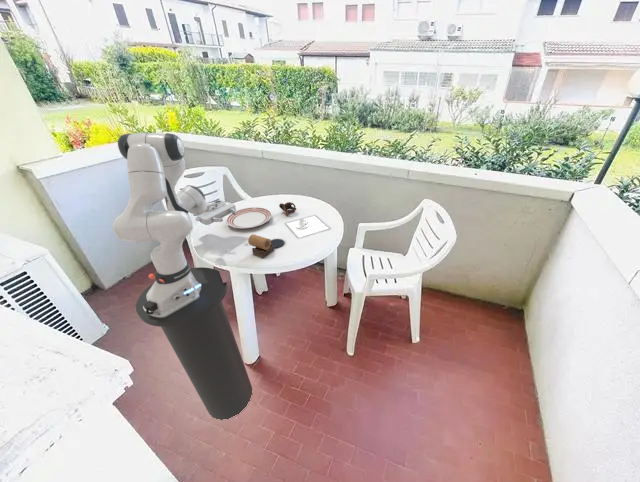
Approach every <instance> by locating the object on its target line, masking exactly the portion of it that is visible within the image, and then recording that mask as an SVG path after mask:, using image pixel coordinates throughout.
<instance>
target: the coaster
mask: <svg viewBox="0 0 640 482" xmlns="http://www.w3.org/2000/svg"><path fill="white" fill-rule="evenodd" d="M270 241H271V244H273V247H274V249H280V248H281V247H283V246H284V245H285V241H284V240H283V239H282V238H281V239H280V238H274V239H270Z"/></svg>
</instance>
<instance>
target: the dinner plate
mask: <svg viewBox="0 0 640 482" xmlns="http://www.w3.org/2000/svg"><path fill="white" fill-rule="evenodd" d="M236 212H237V214H235V215H233V214H232V213H231V214H229V215H227V216H226V217H227V218H226V219H225V222H226V224H227V225H228V226H229V227H231V228H233V229H243V230H244V229H252V228H256V227H259V226H262V225H264V224H266V223H268V221H270V220H271V218H272V215H273V213H272V211H271V210H270V209H268V208H265V207H261V206H253V207H250V206H249V207H245V208H241V209H238V210H236Z"/></svg>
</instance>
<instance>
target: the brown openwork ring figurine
mask: <svg viewBox="0 0 640 482" xmlns="http://www.w3.org/2000/svg"><path fill="white" fill-rule="evenodd" d="M278 206H279V208H280V209H281V210H282V212H285V216H289V215H291V214H294V213H295V212H296V210H297V208H296V205H295V203H293V202H290V201H288V202H285V203H281V202H280V203H279V205H278Z"/></svg>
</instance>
